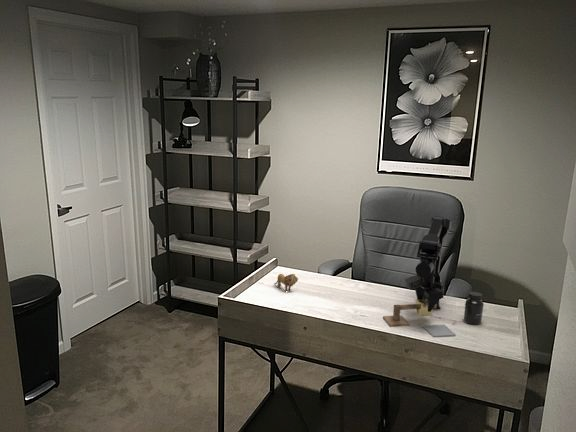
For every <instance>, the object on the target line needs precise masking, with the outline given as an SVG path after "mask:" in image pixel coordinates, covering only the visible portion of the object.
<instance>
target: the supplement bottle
mask: <svg viewBox="0 0 576 432" xmlns="http://www.w3.org/2000/svg"><path fill="white" fill-rule="evenodd" d="M482 297H483V294H482V293H481V292H476V291H470V292H469V294H468V297H467V299H466V300H465V304H464V305H465V306H464V313H463V322H465V323H467V324H468V325H472V326H478V325H481V323H482V320H483V312H484V306H485V305H484V302H483V300H482V299H483V298H482Z"/></svg>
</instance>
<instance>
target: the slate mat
mask: <svg viewBox="0 0 576 432" xmlns="http://www.w3.org/2000/svg"><path fill="white" fill-rule="evenodd" d="M422 328H424V330H426V332H428V333H429V335H430V336H431V337H433V338H447V337H456V335H457V334H456V333H454V332H453V331H452V330H451V329H450V328H449V327H448V326H447V325H446V324H429V325H427V324H426V325H425V324H424V325H423V326H422Z"/></svg>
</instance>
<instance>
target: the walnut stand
mask: <svg viewBox="0 0 576 432" xmlns="http://www.w3.org/2000/svg"><path fill="white" fill-rule="evenodd" d="M419 308H420V306H419V305H418V304H416V303H414V304H413V303H411V304H393V310H392V311H393V313H392V315H383V316H382V318H383V320H384V321H385V323H387V325H388V326H389V327H390V328H394V327H395V328H396V327H410V326H411V325H410V322H409V321H408V320H407V319H406V318H405V317H404V316H403V315H402V314H401V311H402V310H403V311H405V310H416V309H419ZM434 308H437V305H435V306H434Z"/></svg>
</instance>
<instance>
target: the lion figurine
mask: <svg viewBox="0 0 576 432" xmlns="http://www.w3.org/2000/svg"><path fill="white" fill-rule="evenodd" d="M298 281H299V278H298V277H297V276H296V274H295V273H291V274H288V275H284V274H283V273H279V274H278V275H277V281H276V282H274V283H273V285H274V286H275V285H277V287H276V288H280V289H281V286H282V285H284V292H285V291H288V292H289V290H291V287H293V286H294V285H296V283H297V282H298ZM279 285H281V286H279Z"/></svg>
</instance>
